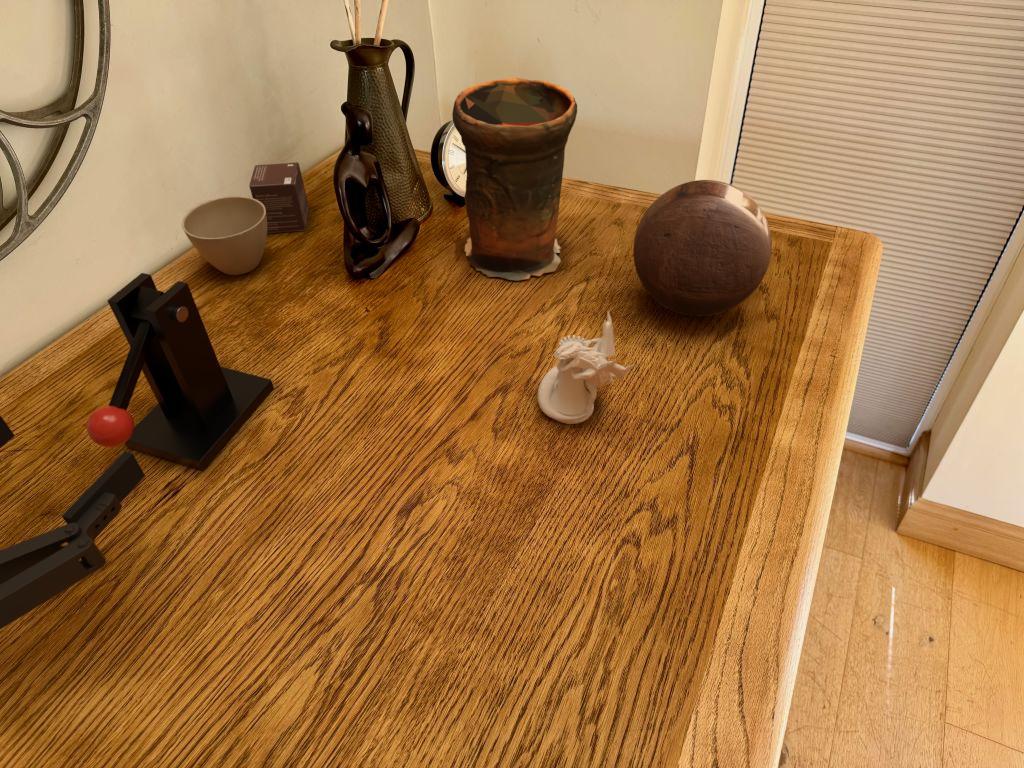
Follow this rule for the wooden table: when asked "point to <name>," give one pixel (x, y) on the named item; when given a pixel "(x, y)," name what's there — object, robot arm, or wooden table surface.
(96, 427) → the switch
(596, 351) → the figurine
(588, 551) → the wooden table surface
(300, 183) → the box
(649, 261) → the wooden sphere
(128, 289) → the lever base
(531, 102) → the vessel
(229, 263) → the flower pot
